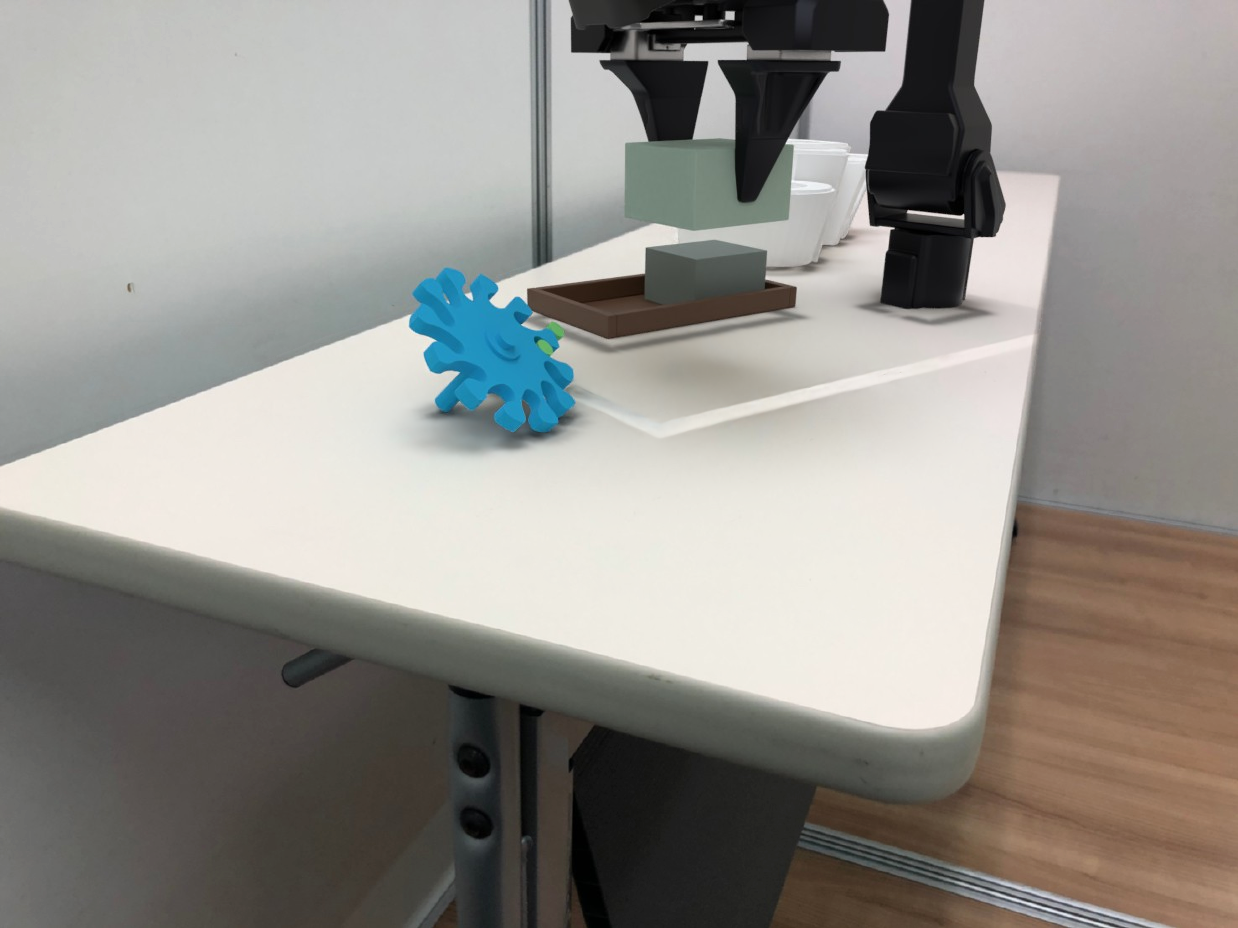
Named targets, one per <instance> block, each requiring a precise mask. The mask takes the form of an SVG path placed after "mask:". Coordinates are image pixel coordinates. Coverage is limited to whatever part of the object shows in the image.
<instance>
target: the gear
mask: <svg viewBox="0 0 1238 928" xmlns="http://www.w3.org/2000/svg"><path fill="white" fill-rule="evenodd" d="M466 281H467V280H466V276H465V274H464V273H463V272H462V271H459V270H457V269H455V268H451V267H444V268H443V269H442V270H441V271H440V272H439V273H438V274H437V275H436V277H435V278H434V277H427V278H426V279H423V280H422V281H420V283H419V284H418V285H417V286H416V288H415V289H413V291H412V292H411V294H412V296H413V298H414V299H415V300H416V301H417V302H418V303H419V304H420V305H419V306H418V307H417V308H416V309H415V310H414V311H413V313H412V314H411V315H410V317H409V320H408V328H409V329H410V330H411V331H413V332H414V333H415V334H417V335H419V336H425V337H428V338H431V339H432V340H434V341H432V342H431V344H430V345H428V347H427V348H426V349H425V350H424V351H423V354H422V355H423V359H424V362H425V364H426V366H427V368H428V370H429V371H430V373H431V372H432V373H433V374H436V375H441V374H443V373H445V372H457V373H458V374H457V375H456V376H455V377H454V378H453V379H452V380H451V381H450V382H449V383H448V385H446V386H445V388H443V390H441V391H440V392H439V394H438V395H437V396H436V397H434V404H435V406H436V407H437V408H438V410H441V412H445V413H448V412H450V411H451V410H452V409H453V408H454V407H455V406H456V405H457V404H458V403H459V402H460V403H461V404H462V405H463V406H464V407H465V408H466V410H468V411H475V410H476V409H477V408H478V407H479V406H480V405H481V404H483V402H484V401H486V399H487V396H488V395H492V394H494V395H497V396H498V397H499V398H501V400H502V401H503V403H504V404H503V405H502V406H501V407H500V408H499V409H498V410H497V411H496V412H494V414H493V415H494V416H493V419H494V422H495V423H497V424H498V425H499V426H500V427H502V428H503V429H505V430H507V431H509V432H511V433H515V432H516V431H517V430H518V429H519V428H520V427H521V426H522V425H523V424H524V423H526V420H527V422H528V425H529V426H530V428H531V430H532V431H535V432H537V433H549V432H550V431H552V430H553V428H555V427H556V426H557V425H558V424H559V419H560V418H561V417H563V416H564V415H565V414H566V413H567V412H568V411H569V410H571V409H572V408H573V407H574V406H575V404H576V402H577V401H576V400H575V398H574V397H573V396H572V395H571V394H570V393H569V392H567V391H566V390H565V389H566V388H567V387H568V386H569V385H570V384H572V383H573V381H574V378H575V377H574V376H575V375H574V368H573V367H572V366H570V365H569V364H568V363H567V362H564V361H559V360H557V359H554V358H553V357H551V356H552V355H553V354H554V353H555V352H556V351H557V350H558V349H559V348H560V343H559V341H561V340H562V338H564V336H565V335H566V334H565V330H564V328H563V327H562V326H561V325H560V324H559V323H558V322H556V321H551V322H550V323H549V324H548V325H546V326H545V327H544V328H543V329H539V330H536V329H532V328H529V327H526V326H524V325H523V324H524V323H525V322H526V321H527V320H528V319H529V318H530V317H531V316H532V315H533V313H534V312H533V311H532V310H531V309H530V307H529V306H528V305H527V302H526V301H525V300H524V299H523V298H522V297H520V296H514V297H513V298H512V299H511V300H510V302H508V304H507V305H506V306H505V307H497V306H495V305H494V304H493V303H492V302H491V301H490V300H491V299H492V298H493V297H495V295H496V294H497V293H498V292H499V285H498V284H497V283H496V282H495V281H494V280H492V279H491V278H489V277H488V276H486V275H484V274H483V273H480V274H478V275H477V277H475V279H474V280H473V281H472V282H471V283H470V284H469V290H470V293H471V296H472V299H470V298H469V297H468V296H467V295H466V294H465V292H464V290H463V288H464V286H465V285H466ZM446 299H447V300H446ZM522 401H523V402H525V403H526V404H527V405H528V407H529V409H530V412H529V415H528V418H527V417H526V413H525V412H524V408H523V402H522Z"/></svg>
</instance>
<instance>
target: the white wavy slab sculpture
mask: <svg viewBox="0 0 1238 928" xmlns="http://www.w3.org/2000/svg"><path fill="white" fill-rule="evenodd" d="M786 144H791V145H794V152H793V166H792V180H791V194H790V208H789V219H788V220H784V221H775V222H767V223H758V224H749V225H741V226H732V227H724V228H715V229H706V230H698V231H691V230H686V229H681V228H677V241H678V243H677V244H681V243H690V242H699V241H708V240H719V241H724V242H729V243H733V244H738V245H743V246H748V247H753V248H758V249H762V250H767V262H766V268H767V267H768V268H790V267H803V266H806V265H809V264H812V263H811V262H813V263H818V262H819V258H820V255H821V251H822V248H823V246H837V245H838V244H839V242H840V240H843V239H845V238H846V237H847V235H848V232H849V231H850V228H851V226H852V223H853V221H854V219H855V216H856V214H857V212H858V210H859V207H860V205H861V203H862V201H863V198H864V196H865V195H866V193H867V188H866V170H865V164H866V160H867V157H868V153H851V150H852V146H850V145H849V143H846V142H841V141H832V140H831V141H829V140H817V139H801V138H788V140H787V142H786Z"/></svg>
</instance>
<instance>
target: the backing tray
mask: <svg viewBox="0 0 1238 928" xmlns="http://www.w3.org/2000/svg"><path fill="white" fill-rule="evenodd" d="M797 291H798V287H797V286H796V285H795V286H794V285H790V284H786V283H782V282H779V281H775V280H770V279H766V278H765V289H764V290H758V291H751V292H745V293H738V294H731V295H725V296H718V297H712V298H705V299H699V300H692V301H686V302H679V303H673V304H666V305H662V304H658V303H655V302H652V301H648V300H645V299H644V296H645V273H636V274H630V275H622V276H613V277H606V278H599V279H591V280H584V281H576V282H570V283H569V282H567V283H559V284H553V285H545V286H537V287H529V288H526V304H527V305H528V306H529V307H530V309H531V310H532V312H533V313H536V314H538V315H542V316H544V317H547V318H549V319H552V320H555V321H558V322H560V323H563V324H566V325H569V326H571V327H574V328H577V329H579V330H581V331H584V332H588V333H589V334H593V335H595V336H598V337H601V338H604V339H606V340H612V339H618V338H623V337H630V336H636V335H642V334H647V333H652V332H659V331H664V330H670V329H677V328H682V327H683V328H684V327H688V326H693V325H699V324H700V325H701V324H706V323H711V322H717V321H723V320H729V319H734V318H741V317H747V316H752V315H753V316H754V315H758V314H764V313H769V312H776V311H781V310H787V309H793V308H796V303H797V293H798V292H797Z"/></svg>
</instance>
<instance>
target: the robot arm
mask: <svg viewBox="0 0 1238 928" xmlns="http://www.w3.org/2000/svg"><path fill="white" fill-rule="evenodd" d="M568 4H569V7H570V11H571V14H572V15H571V16H570V53H572V54H609V59H599V60H598V62H599V64H600V67H602V69H603V70H604V71H610V72H611V73H613V75H614V76H615V77H616V78H617V79H618V80H619V81H620V82H621V83H622V84H623V85H624V86H625V87H626V88H627V89H628V90H629V91H630V93H631V95H632V97H633V100H634V102H635V105H636V107H637V110H638V113H639V115H640V119H641V122H642V125H643V128H644V132H645V135H646V138H647V142H652V141H673V140H694V134H695V130H696V125H697V121H698V115H699V112H700V111H699V110H700V107H701V101H702V96H703V92H704V87H705V82H706V77H707V72H708V68H709V60H684V56H685V55H684V54H685V49H686V47H687V45H690V44H691V45H694V44H696V45H697V44H699V45H700V44H741V43H742V44H743V43H747V45H746V47H747V48H746V59H717V65H718V66H719V68H720V70H721V72H722V74H723V76H724V78H725V79H726V81H727V83H728V85H729V86H730V88H731V90H732V92H733V94H734V100H735V101H734V103H735V105H734V107H735V108H734V109H735V110H734V112H735V115H734V120H735V121H734V135H735V136H734V140H735V177H736V189H737V199H738V201H739V202H741V203H748V202H754V201H756V199H757V198H758V196H759V194H760V192H761V190H762V188H763V186H764V184H765V182H766V180H767V179H768V177H769V175H770V173H771V171H772V169H773V167H774V165H775V163H776V161H777V159H778V157H779V155H780V153H781V152H782V150H783V148H784V146H785V144H786V142H787V140H788V139H789V138H790V137H791V135H792V133H793V131H794V130H795V127H796V125H797V123H798V122H799V120H800V118H801V117H802V115H803V113H804V112H805V110H806V109H807V107H808V106H809V104H810V102H811V101H812V100H813V97H814V96H815V95H816V93H817V91H818V90H819V88H820V87H821V85H822V83H823V82H824V80H825V78H826V77H827V76H828V74H829V73H833V72H834V73H838V72H840V70H841V65H842V60H832V52H834V53H885V52H886V50H887V49H886V48H887V40H888V31H889V30H888V29H889V20H890V11H889V9H888V7H887V4H886V2H885V0H568ZM909 5H910V6H909V15H908V25H907V34H906V37H907V38H906V46H905V55H904V64H903V73H902V74H903V75H902V82H901V86H900V87H899V89H898V90H897V92H896V93H895V95H894V96H893V98H892V100H890V102H889V104H888V105H887V107H886V108H885V109H883V110H882V109H881V110H879V109H877V110H876V111H875V112H874V114H873V115H872V118H871V119H870V122H869V147H868V151H867V154H868V157H867V160H866V164H865V170H866V188H867V190H866V195H867V196H866V198H867V199H866V200H867V209H868V222H869V223H868V224H869V226H870V227H874V228H878V227H885V228H891V229H890V230H889V237H888V244H887V245H888V247H887V250H886V251H885V255H884V264H883V273H882V281H881V289H880V298H879V299H880V300H879V303H880V304H882V305H887V306H892V307H896V308H900V309H905V310H919V309H920V310H921V309H952V308H956V307H959V306H962V304H963V301H965V300H966V295H967V288H968V281H969V275H970V268H971V263H972V254H973V249H974V248H973V247H974V241H975V239H977V238H996V237H997V234H998V233H999V231H1000V228H1001V224H1002V223H1003V222H1004V214H1005V211H1006V207H1007V204H1006V200H1005V196H1004V194H1003V193H1004V192H1003V190H1002V186H1001V182H1000V180H999V176H998V172H997V169H996V166H995V163H994V158H993V156H992V154H991V149H992V148H991V147H992V133H993V124H992V121H991V119H990V117H989V115H988V113H987V111H986V109H985V106H984V104H983V102H982V99H981V97H980V95H979V93H978V91H977V88H976V87H975V78H976V69H977V62H978V53H979V47H980V39H981V29H982V24H983V23H982V22H983V16H984V7H985V0H910V4H909ZM727 12H728V13H729V12H733V13H734V14H733V15H734V17H733V19H727V18H726V15H727ZM696 17H701V18H702V19H699V20H696ZM908 211H910V212H911V211H912V212H919V213H910V212H908ZM920 213H929V214H930V213H931V214H938V215H947V216H957V217H961V216H963V218H957V217H956V218H954V217H946V216H937V215H928V214H920Z"/></svg>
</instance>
